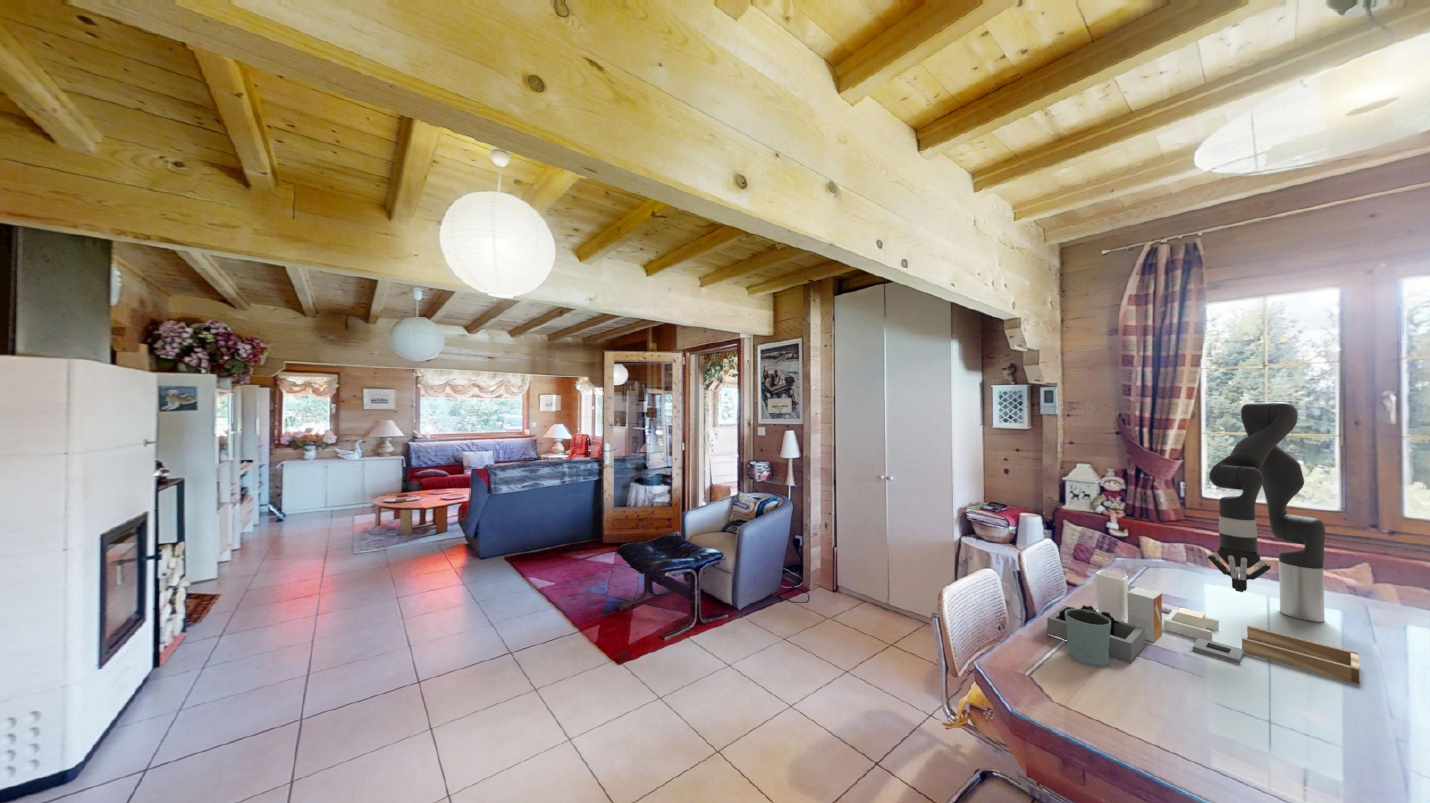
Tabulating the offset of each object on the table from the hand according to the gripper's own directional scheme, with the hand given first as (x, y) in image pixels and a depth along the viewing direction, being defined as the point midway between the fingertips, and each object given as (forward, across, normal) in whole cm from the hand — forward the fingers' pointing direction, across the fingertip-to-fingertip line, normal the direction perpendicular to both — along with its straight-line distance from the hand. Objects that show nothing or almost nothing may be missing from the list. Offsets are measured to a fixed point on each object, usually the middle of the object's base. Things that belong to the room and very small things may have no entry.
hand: (1239, 590), depth 137 cm
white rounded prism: (+15, +27, +11) cm, 33 cm away
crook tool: (+15, +13, -9) cm, 22 cm away
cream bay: (+15, +10, 0) cm, 18 cm away
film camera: (+14, +26, +34) cm, 46 cm away
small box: (+15, +18, +16) cm, 29 cm away
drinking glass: (+14, +24, +47) cm, 55 cm away
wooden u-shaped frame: (+15, -10, 0) cm, 18 cm away
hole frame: (+15, +3, +13) cm, 20 cm away
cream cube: (+15, +10, +1) cm, 18 cm away
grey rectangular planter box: (+14, +26, +33) cm, 45 cm away
